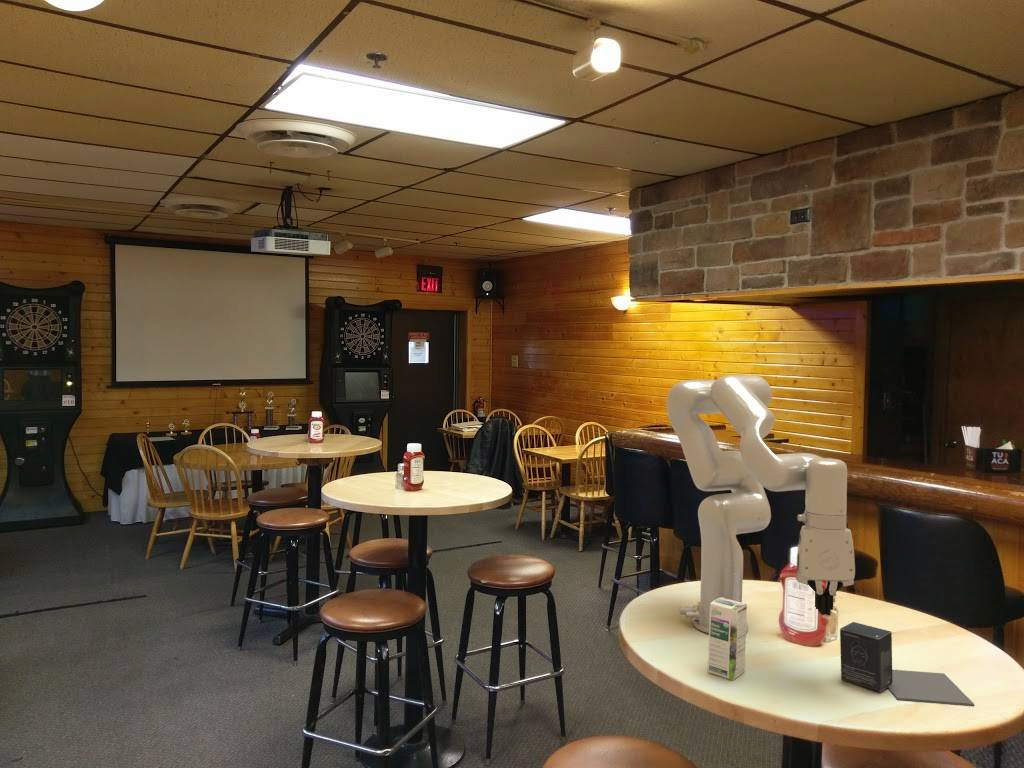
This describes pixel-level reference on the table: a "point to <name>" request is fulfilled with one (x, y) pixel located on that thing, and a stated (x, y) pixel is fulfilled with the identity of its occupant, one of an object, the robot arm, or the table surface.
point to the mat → (926, 688)
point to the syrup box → (727, 638)
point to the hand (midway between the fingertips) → (824, 612)
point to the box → (866, 656)
